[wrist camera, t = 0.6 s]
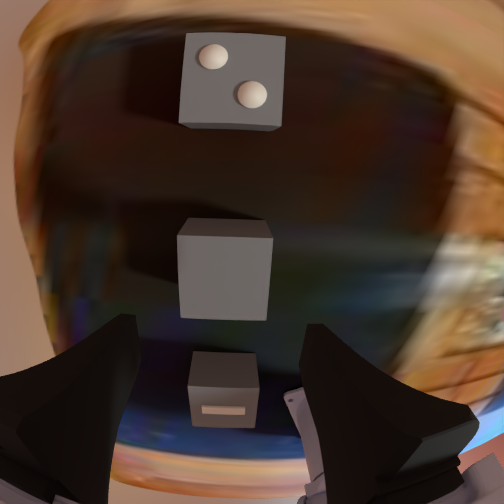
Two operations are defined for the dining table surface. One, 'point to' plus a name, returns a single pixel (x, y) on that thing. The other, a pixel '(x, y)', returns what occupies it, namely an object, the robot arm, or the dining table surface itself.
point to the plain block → (224, 268)
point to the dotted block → (232, 81)
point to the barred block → (223, 389)
